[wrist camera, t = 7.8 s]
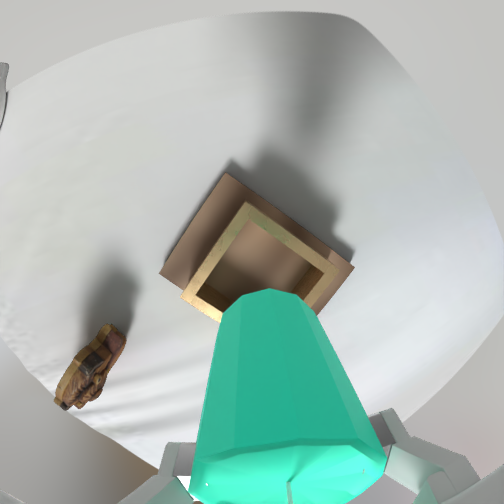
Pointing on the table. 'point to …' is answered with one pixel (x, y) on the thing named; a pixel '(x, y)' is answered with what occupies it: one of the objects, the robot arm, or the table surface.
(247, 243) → the candle stand
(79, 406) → the wooden carving
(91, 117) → the table surface
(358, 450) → the candle
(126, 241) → the table surface
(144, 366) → the table surface
